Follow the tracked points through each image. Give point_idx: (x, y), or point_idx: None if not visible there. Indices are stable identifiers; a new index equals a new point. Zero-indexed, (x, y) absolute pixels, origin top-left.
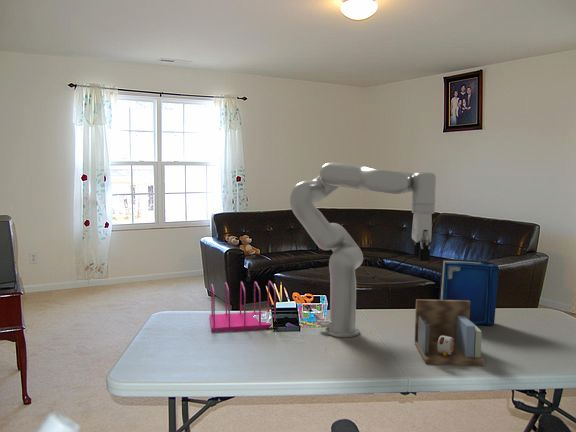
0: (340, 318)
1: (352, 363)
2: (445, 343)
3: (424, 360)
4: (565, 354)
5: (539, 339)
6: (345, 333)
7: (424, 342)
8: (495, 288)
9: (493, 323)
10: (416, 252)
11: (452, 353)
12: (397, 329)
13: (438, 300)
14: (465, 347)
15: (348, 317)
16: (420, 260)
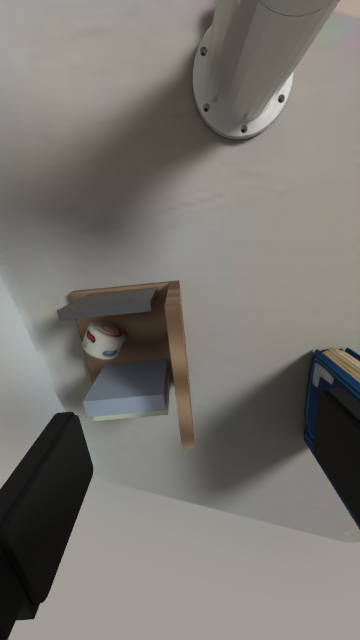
0: (212, 29)
1: (22, 125)
2: (83, 340)
3: (79, 291)
4: (175, 493)
5: (237, 481)
6: (204, 88)
7: (84, 298)
8: (354, 518)
9: (304, 440)
10: (336, 426)
11: None
12: (274, 248)
13: (177, 372)
14: (101, 373)
15: (216, 63)
16: (57, 416)
